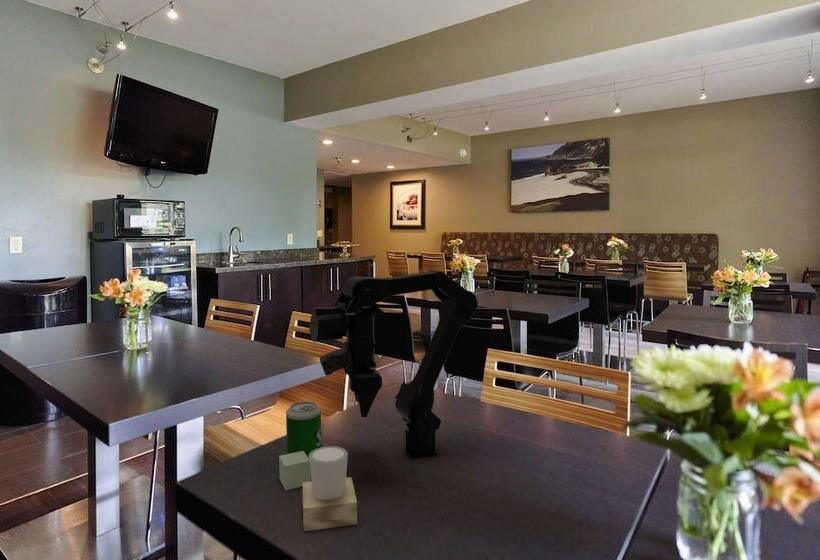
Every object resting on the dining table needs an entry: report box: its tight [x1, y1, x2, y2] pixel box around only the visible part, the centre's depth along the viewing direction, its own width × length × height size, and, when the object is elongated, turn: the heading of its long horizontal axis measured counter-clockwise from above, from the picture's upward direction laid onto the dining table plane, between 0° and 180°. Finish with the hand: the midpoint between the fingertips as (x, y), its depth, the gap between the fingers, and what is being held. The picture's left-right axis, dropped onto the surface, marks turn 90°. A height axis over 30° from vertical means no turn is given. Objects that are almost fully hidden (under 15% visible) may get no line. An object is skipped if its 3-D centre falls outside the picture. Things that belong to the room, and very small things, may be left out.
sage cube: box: [278, 451, 312, 491], centre depth 100 cm, size 5×5×5 cm
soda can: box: [285, 401, 323, 458], centre depth 110 cm, size 8×8×12 cm
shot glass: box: [309, 445, 349, 500], centre depth 88 cm, size 7×7×7 cm
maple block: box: [302, 476, 358, 532], centre depth 89 cm, size 9×9×4 cm
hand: (361, 409), depth 106 cm, fingers open, 9 cm apart
